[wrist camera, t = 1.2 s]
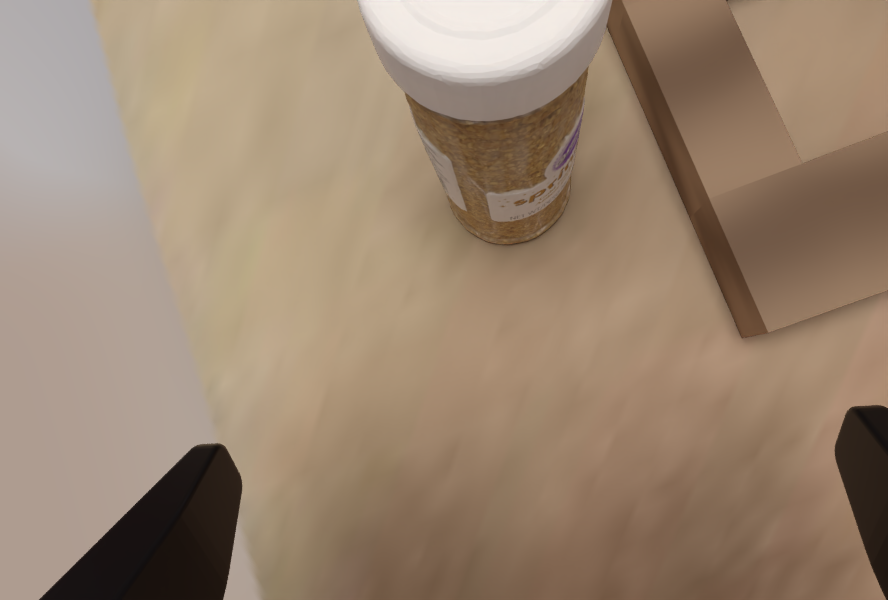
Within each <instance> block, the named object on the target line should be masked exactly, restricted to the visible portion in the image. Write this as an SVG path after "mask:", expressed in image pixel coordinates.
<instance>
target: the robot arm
mask: <svg viewBox="0 0 888 600" xmlns="http://www.w3.org/2000/svg"><path fill="white" fill-rule="evenodd" d="M835 458H836V462H837V466H838V469H839V472H840V475H841V478H842V481H843V484H844V487H845V490H846V493H847V496H848V499H849V502H850V505H851V508H852V511H853V514H854V517H855V520H856V523H857V526H858V529H859V532H860V535H861V538H862V541H863V544H864V547H865V550H866V553H867V555H868V558H869V561H870V564H871V566H872V569H873V571H874V573H875V576H876V578H877V580H878V583H879V585H880V587H881V589H882V591H883V593H884V596H885V598H886V600H888V408H886V407H884V406H880V405H872V406H855V407H851V408H850V409H849V410H848V411H847V413H846V415H845V418H844V421H843V424H842V426H841V429H840V432H839V435H838V438H837V441H836V444H835ZM241 494H242V480H241V476H240V473H239V472H238V470H237V468H236V466H235V464H234V462H233V460H232V458H231V456H230V454H229V452H228V451H227V449H226V447H225V446H224V445H222V444H219V443H215V444H200V445H197V446H195V447H193V448H192V449H191V450H190V451H189V452H188V453H187V454H186V455H185V456H184V457H183V458H182V459H180V460H179V462H177V463H176V465H175V466H173V467H172V468H171V469H170V470H169V471H168V473H167V474H165V475H164V476H163V477H162V478H161V480H159V481H158V482H157V483H156V484H155V485H154V486H153V487H152V488H151V490H149V491H148V493H146V494H145V495H144V496H143V497H142V498H141V499H140V500H139V501H138V502H137V503H136V504H135V505H134V506H133V507H132V508H131V509H130V510H129V511H128V512H127V513H126V514H125V515H124V516H123V517H122V518H121V519H120V520H119V521H118V522H117V523H116V524H115V525H114V526H113V527H112V528H111V529H110V530H109V531H108V532H107V533H106V534H105V535H104V536H103V537H102V538H101V539H100V540H99V541H98V542H97V543H96V544H95V545H94V546H93V547H92V548H91V549H90V550H89V551H88V552H87V553H86V554H85V555H84V556H83V557H82V558H81V559H80V560H79V561H78V562H77V563H76V564H75V565H74V566H73V567H72V568H71V569H70V570H69V571H68V572H67V573H66V574H65V575H64V576H63V577H62V578H61V579H59V581H57V582H56V583H55V584H54V585H53V586H52V588H50V590H48V591H47V592H46V594H44V595H43V596H42V597H41V598H40V599H39V600H223V597H224V593H225V589H226V585H227V580H228V575H229V569H230V562H231V556H232V550H233V544H234V538H235V532H236V525H237V519H238V513H239V506H240V500H241Z"/></svg>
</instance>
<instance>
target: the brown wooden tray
mask: <svg viewBox="0 0 888 600" xmlns="http://www.w3.org/2000/svg"><path fill="white" fill-rule="evenodd" d="M607 27H608V30H609V32H610V34H611V37H612V39H613V41H614V44H615V46H616V48H617V50H618V53H619V55H620V57H621V60H622V62H623V64H624V67H625V69H626V71H627V74H628V76H629V78H630V80H631V83H632V85H633V87H634V90H635V92H636V94H637V97H638V99H639V101H640V104H641V106H642V108H643V110H644V113H645V115H646V117H647V120H648V122H649V124H650V127H651V129H652V131H653V134H654V136H655V138H656V140H657V143H658V145H659V147H660V150H661V152H662V154H663V157H664V159H665V161H666V164H667V166H668V168H669V170H670V173H671V175H672V177H673V180H674V182H675V184H676V187H677V189H678V191H679V194H680V196H681V198H682V200H683V203H684V205H685V207H686V210H687V212H688V214H689V217H690V219H691V221H692V224H693V226H694V228H695V230H696V233H697V235H698V237H699V240H700V242H701V244H702V247H703V249H704V251H705V254H706V256H707V258H708V261H709V263H710V265H711V267H712V270H713V272H714V274H715V277H716V279H717V281H718V284H719V286H720V288H721V291H722V293H723V295H724V297H725V300H726V302H727V304H728V307H729V309H730V311H731V314H732V316H733V318H734V321H735V323H736V325H737V327H738V330H739V332H740V334H741V337H742V338H744V337H749V336H754V335H759V334H765V333H769V332H772V331H775V330H777V329H780V328H783V327H786V326H789V325H792V324H794V323H797V322H800V321H803V320H806V319H808V318H811V317H814V316H817V315H820V314H822V313H825V312H828V311H831V310H834V309H837V308H839V307H842V306H845V305H848V304H851V303H853V302H856V301H859V300H862V299H865V298H867V297H870V296H873V295H876V294H879V293H882V292H884V291H887V290H888V132H885V133H882V134H880V135H877V136H874V137H872V138H869V139H866V140H864V141H861V142H858V143H856V144H853V145H850V146H848V147H845V148H842V149H840V150H837V151H834V152H832V153H829V154H826V155H824V156H821V157H818V158H816V159H813V160H810V161H808V162H805V163H802V161H801V159H800V157H799V155H798V153H797V151H796V148H795V146H794V144H793V142H792V140H791V138H790V136H789V134H788V131H787V129H786V127H785V125H784V123H783V121H782V119H781V116H780V114H779V112H778V110H777V108H776V106H775V104H774V102H773V99H772V97H771V95H770V93H769V91H768V89H767V87H766V85H765V82H764V80H763V78H762V76H761V74H760V72H759V70H758V67H757V65H756V63H755V61H754V59H753V57H752V55H751V53H750V50H749V48H748V46H747V44H746V42H745V40H744V38H743V36H742V33H741V31H740V29H739V27H738V25H737V23H736V21H735V19H734V16H733V14H732V12H731V10H730V8H729V6H728V4H727V1H726V0H612V4H611V8H610V13H609V17H608V21H607Z"/></svg>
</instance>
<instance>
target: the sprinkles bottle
mask: <svg viewBox="0 0 888 600" xmlns="http://www.w3.org/2000/svg"><path fill="white" fill-rule="evenodd" d="M357 2H358V5H359V8H360V11H361V14H362V17H363V20H364V22H365V25H366V27H367V30H368V32H369V35H370V37H371V40H372V42H373V45H374V47H375V49H376V52H377V54H378V56H379V58H380V60H381V62H382V64H383V66H384V67H385V69H386V71H387V72H388V74H389V75H390V76H391V77H392V79H393V80H394V81H395V82H396V84H397V85H398V86H399V87H400V88H401V89H402V90H403V91H404V92H405V95H406V99H407V101H408V103H409V106H410V110H411V115H412V117H413V120H414V123H415V126H416V128H417V130H418V133H419V135H420V137H421V139H422V142H423V144H424V146H425V149H426V151H427V153H428V155H429V158H430V160H431V162H432V164H433V166H434V168H435V170H436V173H437V175H438V177H439V179H440V181H441V183H442V186H443V188H444V189H445V191H446V193H447V195H448V200H449V202H450V205H451V209H452V211H453V213H454V215H455V216H456V218H457V219H458V220H459V221H460V222H461V223H462V224H463V225H464V227H465V228H466V229H467V230H468V231H469V232H471V233H473V234H474V235H476V236H477V237H479V238H481V239H483V240H485V241H487V242H490V243H497V244H513V243H520V242H524V241H528V240H531V239H533V238H535V237H537V236H539V235H540V234H542V233H543V232H545V231H546V230H547V229H549V228H550V227H551V226H552V224H553V223H554V222H556V221H557V219H558V218H559V217H560V216H561V214H562V213H563V211H564V208H565V206H566V204H567V202H568V199H569V194H570V188H571V177H570V174H571V171H572V168H573V165H574V160H575V154H576V149H577V143H578V138H579V132H580V126H581V121H582V115H583V110H584V102H585V99H584V94H585V86H586V80H587V75H588V66H589V64H590V63H591V61H592V59H593V58H594V56H595V54H596V52H597V50H598V48H599V46H600V44H601V41H602V38H603V35H604V33H605V29H606V26H607V21H608V17H609V13H610V8H611V4H612V0H357Z"/></svg>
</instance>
